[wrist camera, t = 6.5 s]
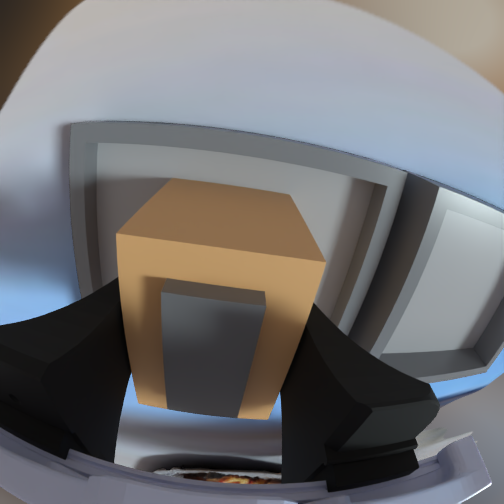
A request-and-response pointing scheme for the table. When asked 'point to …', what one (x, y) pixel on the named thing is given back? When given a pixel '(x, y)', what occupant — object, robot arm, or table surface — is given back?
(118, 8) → the table surface
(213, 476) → the food plate
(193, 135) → the shallow grey tray
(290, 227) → the module
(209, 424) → the table surface
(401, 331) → the case
